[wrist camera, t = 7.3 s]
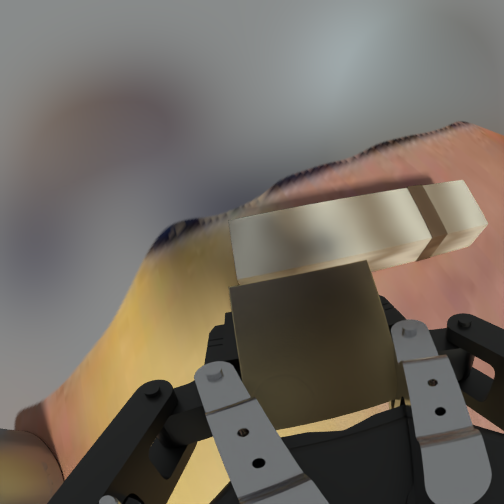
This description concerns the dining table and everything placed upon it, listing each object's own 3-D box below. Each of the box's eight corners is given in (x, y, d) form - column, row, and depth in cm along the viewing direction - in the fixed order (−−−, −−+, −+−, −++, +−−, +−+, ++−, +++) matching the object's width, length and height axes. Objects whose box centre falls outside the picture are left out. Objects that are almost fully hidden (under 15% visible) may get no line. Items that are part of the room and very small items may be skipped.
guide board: (245, 299, 24) (237, 279, 21) (236, 245, 27) (227, 219, 23) (469, 246, 24) (489, 223, 20) (448, 204, 26) (463, 178, 23)
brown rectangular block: (268, 418, 15) (251, 433, 7) (255, 344, 17) (228, 287, 9) (346, 402, 15) (405, 395, 7) (329, 329, 17) (366, 259, 9)
